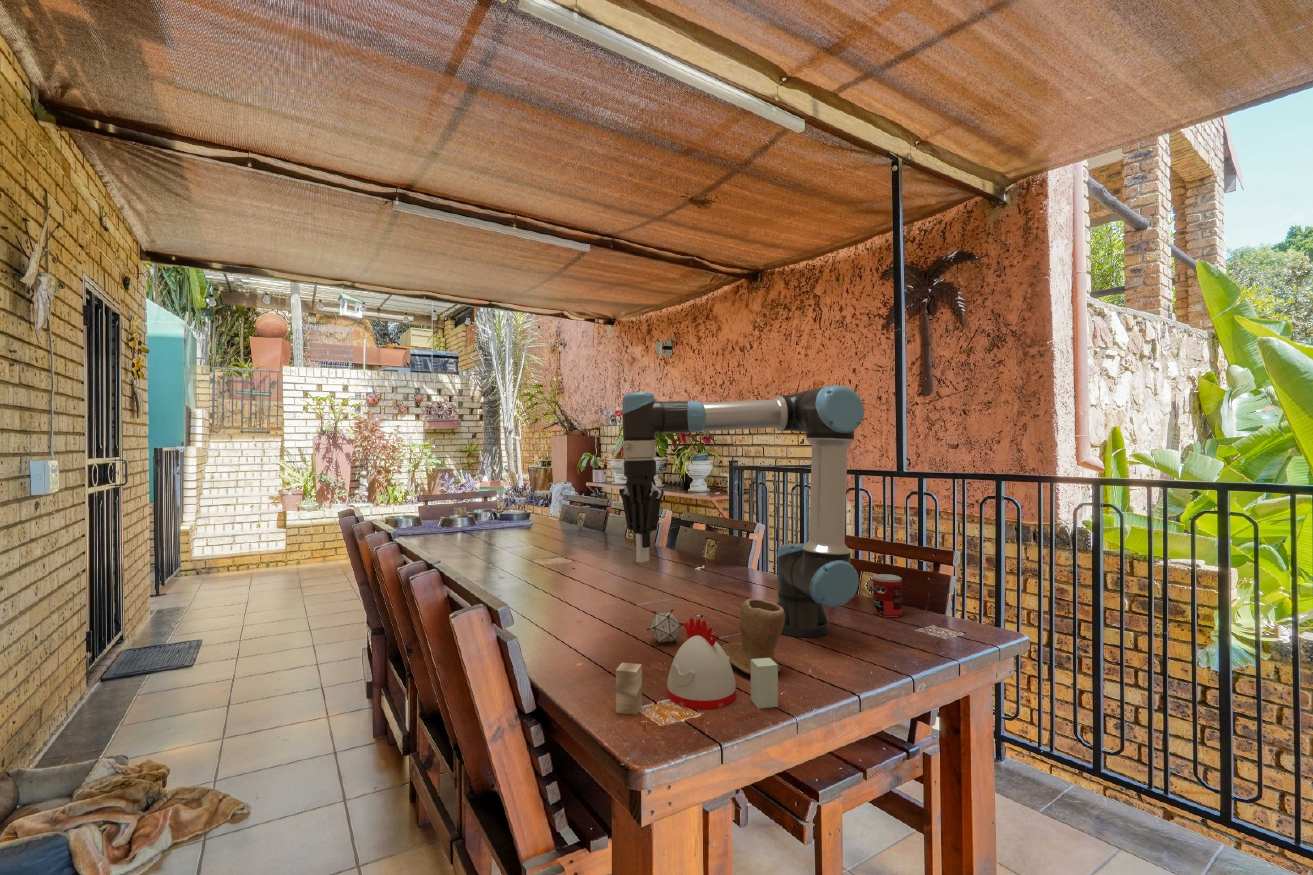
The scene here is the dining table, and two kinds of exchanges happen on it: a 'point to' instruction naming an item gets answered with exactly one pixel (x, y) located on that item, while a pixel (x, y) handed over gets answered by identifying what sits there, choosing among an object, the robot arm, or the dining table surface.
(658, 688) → the dining table surface
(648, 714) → the dining table surface
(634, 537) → the robot arm
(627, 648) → the dining table surface
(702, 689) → the kitchen timer
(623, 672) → the birch block
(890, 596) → the canned food
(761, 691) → the sage block
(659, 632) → the game die
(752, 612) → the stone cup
